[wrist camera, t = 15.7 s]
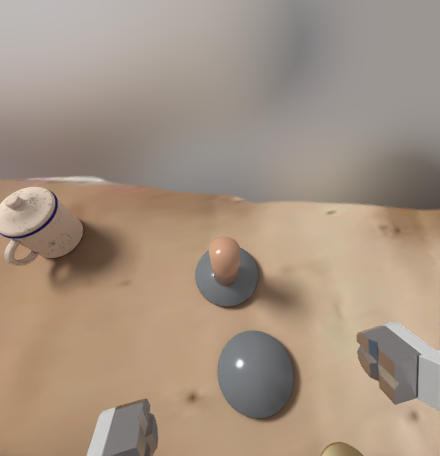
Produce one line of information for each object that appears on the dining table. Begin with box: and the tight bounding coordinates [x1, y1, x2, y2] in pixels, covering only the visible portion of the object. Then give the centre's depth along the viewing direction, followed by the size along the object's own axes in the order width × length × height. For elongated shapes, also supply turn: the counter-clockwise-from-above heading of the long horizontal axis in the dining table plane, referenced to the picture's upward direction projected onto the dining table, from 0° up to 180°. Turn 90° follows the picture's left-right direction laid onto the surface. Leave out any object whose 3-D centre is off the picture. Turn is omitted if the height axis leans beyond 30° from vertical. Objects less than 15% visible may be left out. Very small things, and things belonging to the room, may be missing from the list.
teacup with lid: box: [0, 187, 83, 266], centre depth 40 cm, size 12×9×12 cm
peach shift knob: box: [209, 237, 240, 286], centre depth 36 cm, size 4×4×9 cm
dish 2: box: [218, 331, 294, 418], centre depth 33 cm, size 10×10×1 cm
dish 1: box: [195, 248, 258, 307], centre depth 40 cm, size 10×10×1 cm
